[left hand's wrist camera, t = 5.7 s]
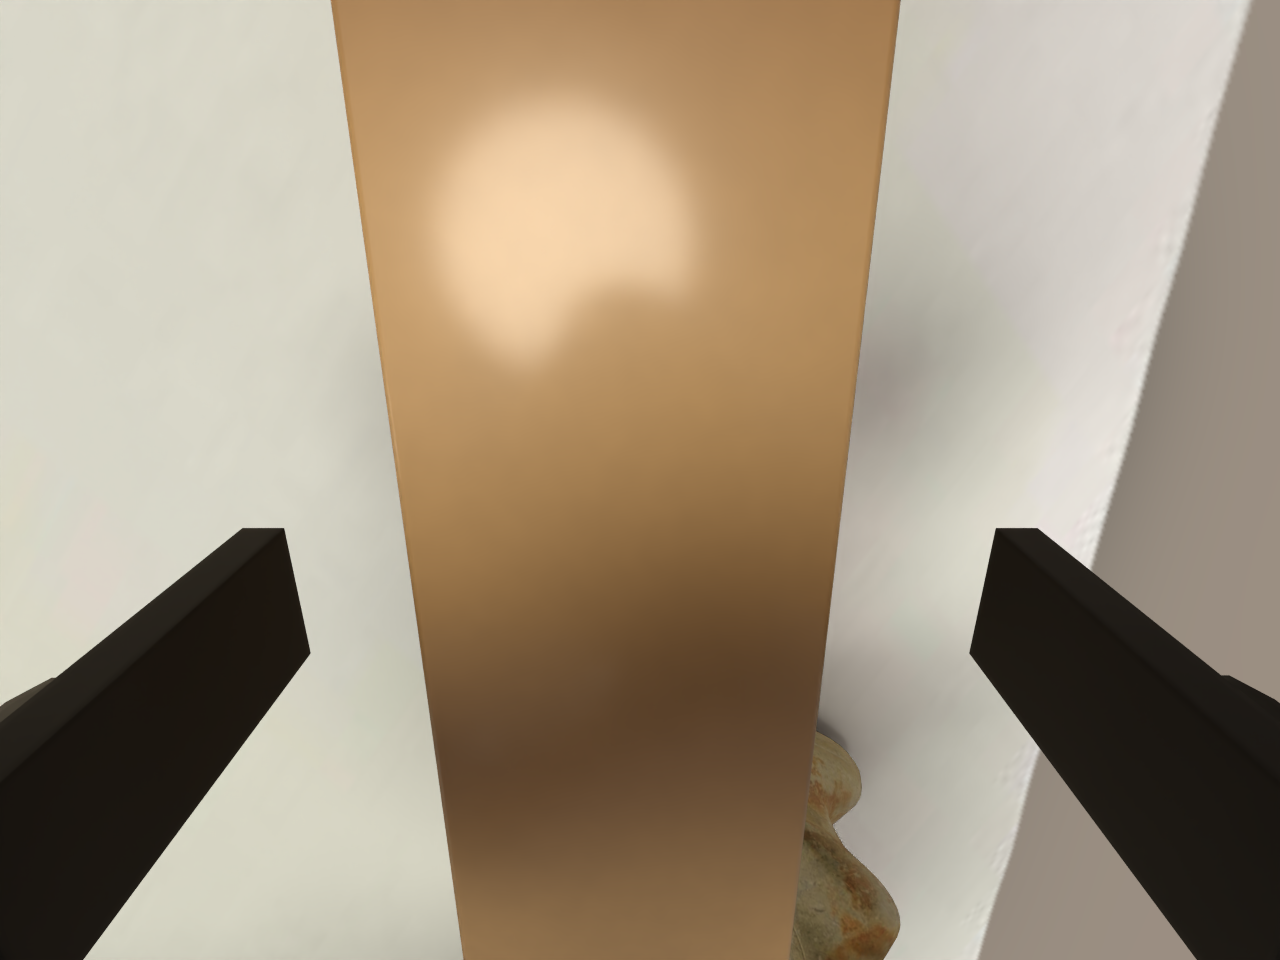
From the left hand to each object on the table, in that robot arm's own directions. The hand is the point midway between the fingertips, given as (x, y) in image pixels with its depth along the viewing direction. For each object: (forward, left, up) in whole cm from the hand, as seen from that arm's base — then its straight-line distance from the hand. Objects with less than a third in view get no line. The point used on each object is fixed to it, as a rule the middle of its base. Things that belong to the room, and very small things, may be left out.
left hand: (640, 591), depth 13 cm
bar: (+9, 0, -5) cm, 10 cm away
